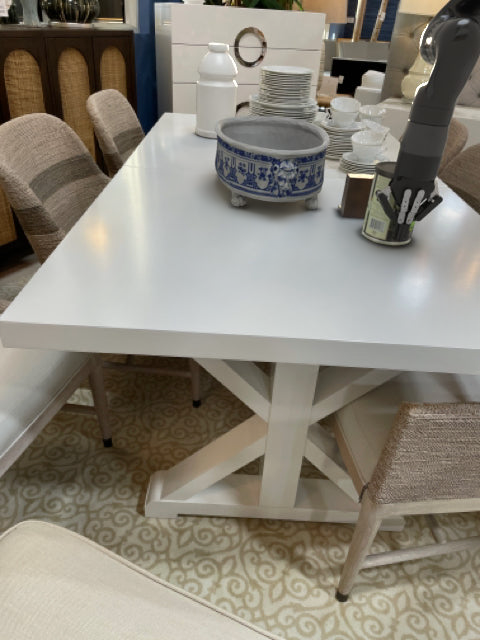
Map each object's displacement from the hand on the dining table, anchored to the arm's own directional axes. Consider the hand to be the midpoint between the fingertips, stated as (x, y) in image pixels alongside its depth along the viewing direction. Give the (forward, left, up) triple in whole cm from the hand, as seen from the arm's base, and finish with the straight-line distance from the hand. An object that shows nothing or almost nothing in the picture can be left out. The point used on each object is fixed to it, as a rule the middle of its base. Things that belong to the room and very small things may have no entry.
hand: (397, 239), depth 93 cm
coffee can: (0, -6, -2) cm, 6 cm away
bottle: (+35, -92, -2) cm, 98 cm away
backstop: (-1, -17, -2) cm, 18 cm away
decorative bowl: (+23, -32, -2) cm, 39 cm away
